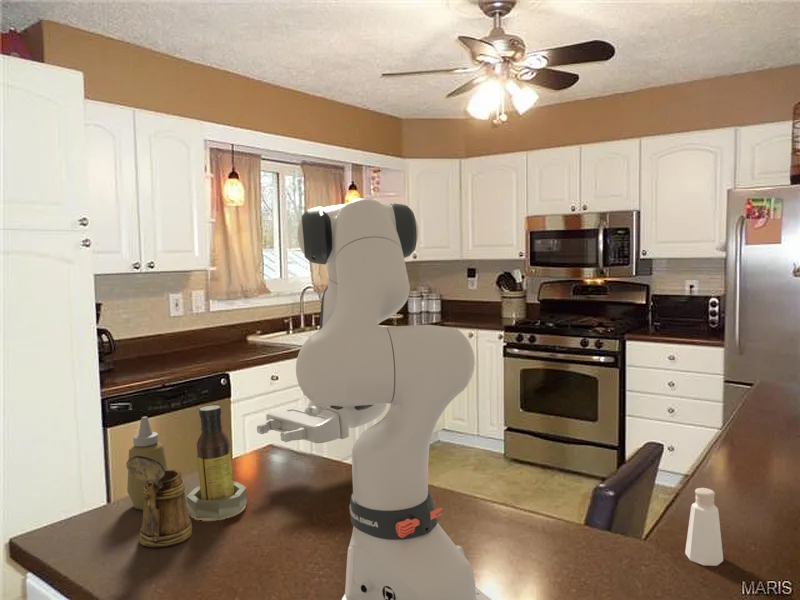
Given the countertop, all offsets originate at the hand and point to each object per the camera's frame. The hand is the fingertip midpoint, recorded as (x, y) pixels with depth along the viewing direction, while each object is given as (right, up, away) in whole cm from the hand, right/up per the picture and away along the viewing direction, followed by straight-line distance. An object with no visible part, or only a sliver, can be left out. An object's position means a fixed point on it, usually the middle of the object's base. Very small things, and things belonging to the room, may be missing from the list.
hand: (270, 433), depth 124 cm
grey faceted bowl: (-9, -13, -6) cm, 17 cm away
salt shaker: (+75, -13, -29) cm, 82 cm away
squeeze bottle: (-24, -14, -3) cm, 28 cm away
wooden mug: (-15, -15, -19) cm, 29 cm away
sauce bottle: (-9, -13, -6) cm, 17 cm away
